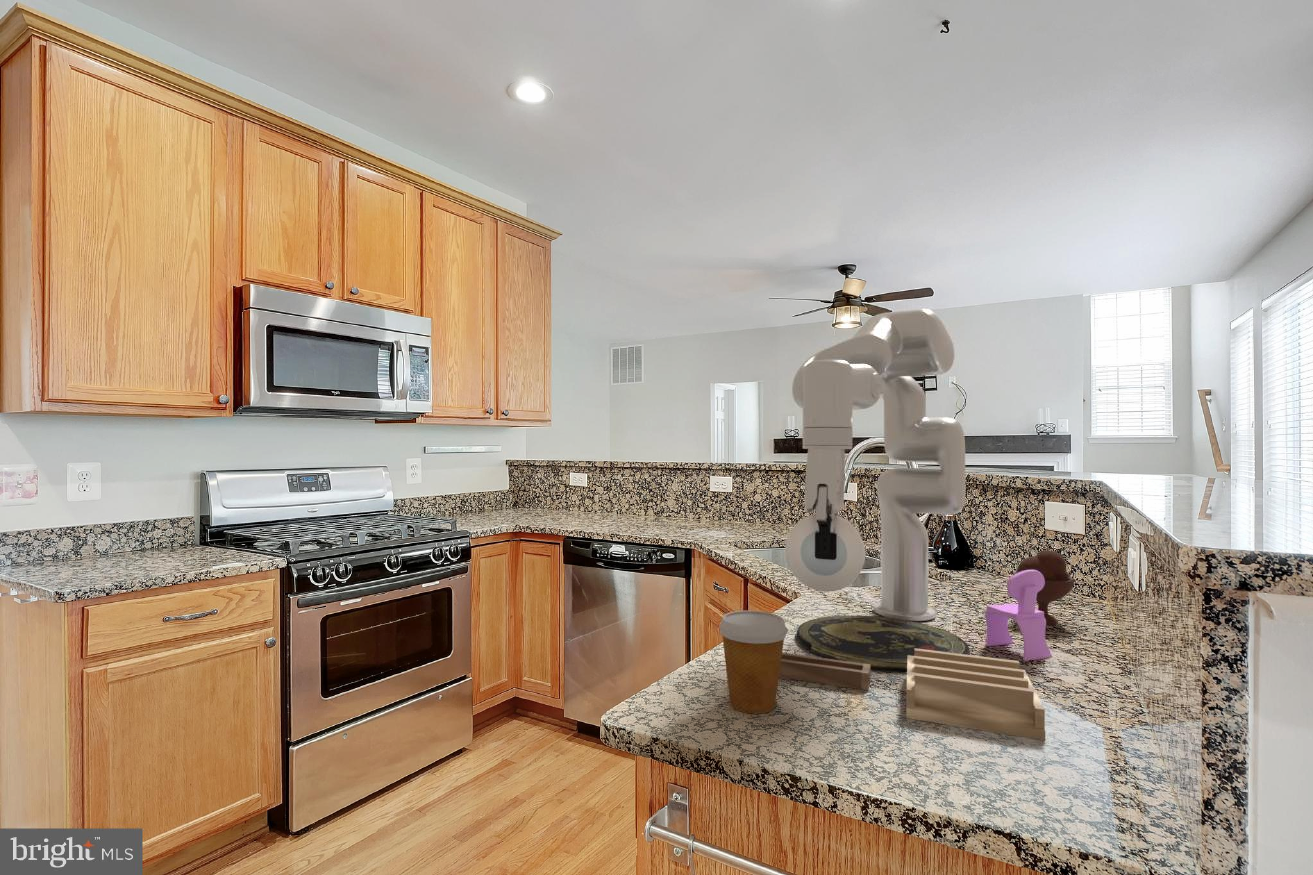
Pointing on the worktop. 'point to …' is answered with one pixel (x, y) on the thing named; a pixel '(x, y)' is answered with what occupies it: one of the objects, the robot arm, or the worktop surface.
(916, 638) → the decorative plate
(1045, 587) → the ice cream bowl
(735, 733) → the worktop surface
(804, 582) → the side plate
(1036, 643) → the toy chair
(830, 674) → the plate stand
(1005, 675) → the dish rack
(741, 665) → the disposable coffee cup
